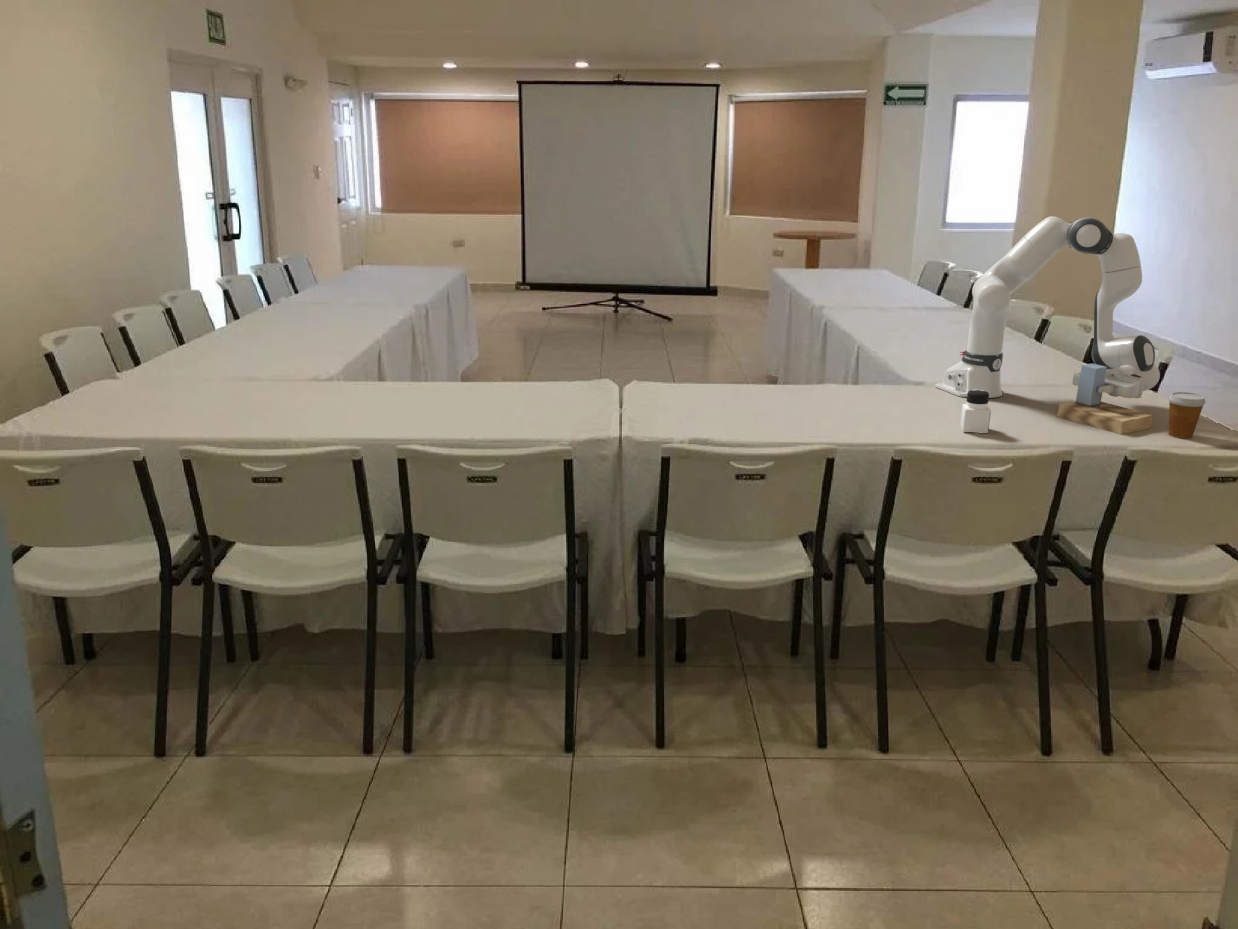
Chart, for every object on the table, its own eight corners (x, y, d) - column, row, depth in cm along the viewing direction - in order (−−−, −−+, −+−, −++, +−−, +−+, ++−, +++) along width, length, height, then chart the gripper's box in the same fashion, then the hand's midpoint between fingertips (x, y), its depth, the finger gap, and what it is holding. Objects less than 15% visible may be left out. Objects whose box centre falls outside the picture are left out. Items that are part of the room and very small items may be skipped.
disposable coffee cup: (1155, 431, 299) (1162, 391, 295) (1185, 430, 300) (1193, 391, 296) (1174, 440, 290) (1182, 400, 286) (1206, 439, 291) (1214, 399, 287)
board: (1057, 416, 314) (1059, 403, 313) (1087, 410, 320) (1089, 398, 319) (1120, 434, 296) (1122, 421, 294) (1150, 427, 302) (1153, 414, 301)
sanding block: (1075, 402, 313) (1081, 365, 309) (1086, 400, 315) (1092, 363, 311) (1089, 406, 309) (1096, 368, 305) (1100, 404, 311) (1107, 366, 307)
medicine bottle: (988, 434, 296) (993, 394, 292) (962, 432, 298) (967, 393, 294) (984, 427, 303) (989, 388, 299) (960, 426, 304) (964, 387, 300)
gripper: (1090, 365, 323) (1061, 370, 317) (1149, 378, 306) (1119, 384, 300) (1087, 384, 325) (1058, 389, 319) (1145, 399, 309) (1116, 404, 302)
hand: (1088, 387), depth 310 cm, fingers closed on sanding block, 5 cm apart
